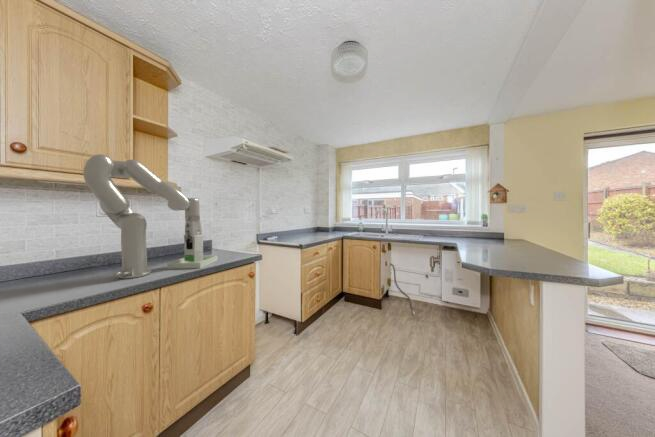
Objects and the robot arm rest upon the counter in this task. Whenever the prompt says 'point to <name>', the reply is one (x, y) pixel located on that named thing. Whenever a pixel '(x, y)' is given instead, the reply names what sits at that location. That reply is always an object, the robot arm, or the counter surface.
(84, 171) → the robot arm
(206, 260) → the tray
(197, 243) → the skincare box
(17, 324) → the counter surface
